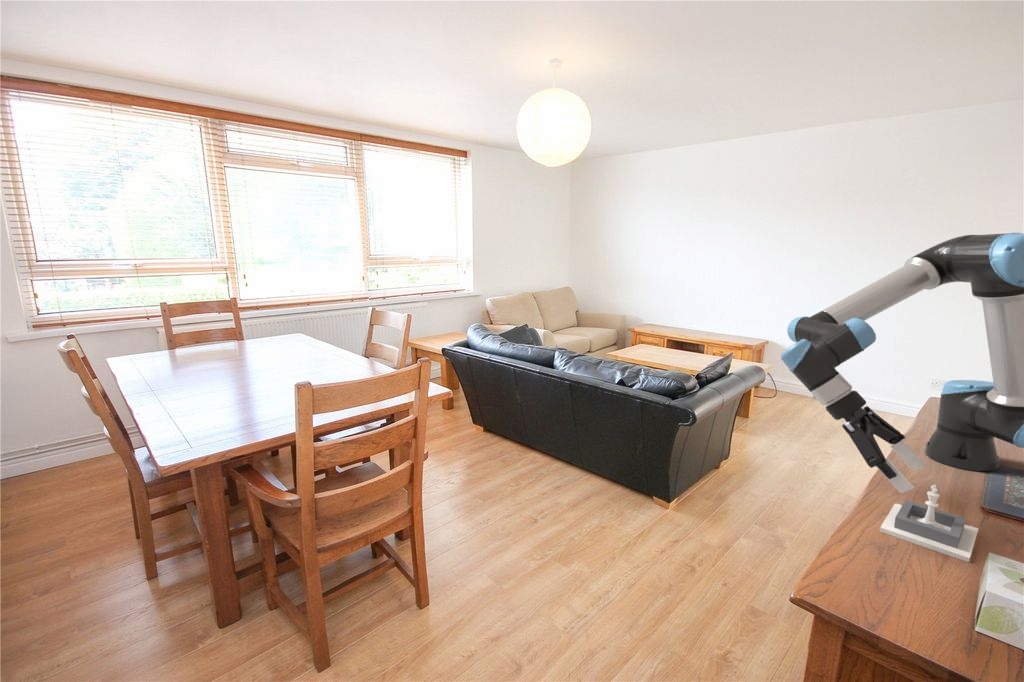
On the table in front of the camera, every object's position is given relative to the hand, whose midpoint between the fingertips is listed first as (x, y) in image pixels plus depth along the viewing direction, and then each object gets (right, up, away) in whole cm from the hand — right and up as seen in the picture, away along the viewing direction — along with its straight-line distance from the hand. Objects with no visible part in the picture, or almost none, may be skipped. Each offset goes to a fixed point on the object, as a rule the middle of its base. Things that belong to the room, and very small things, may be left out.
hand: (913, 479), depth 99 cm
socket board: (+3, -12, 0) cm, 12 cm away
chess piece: (+3, -11, 0) cm, 11 cm away
